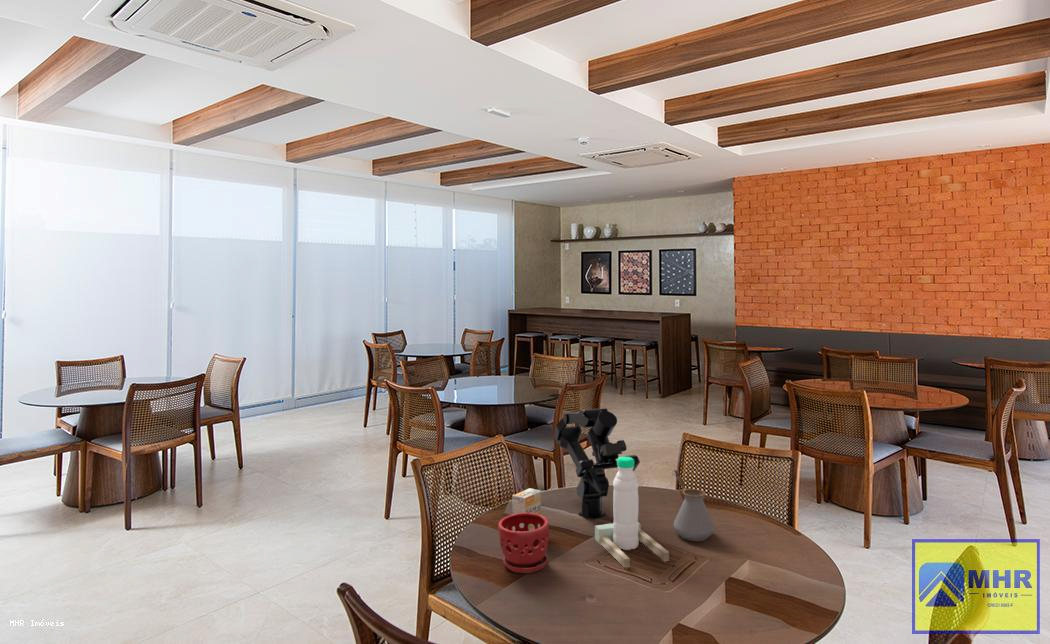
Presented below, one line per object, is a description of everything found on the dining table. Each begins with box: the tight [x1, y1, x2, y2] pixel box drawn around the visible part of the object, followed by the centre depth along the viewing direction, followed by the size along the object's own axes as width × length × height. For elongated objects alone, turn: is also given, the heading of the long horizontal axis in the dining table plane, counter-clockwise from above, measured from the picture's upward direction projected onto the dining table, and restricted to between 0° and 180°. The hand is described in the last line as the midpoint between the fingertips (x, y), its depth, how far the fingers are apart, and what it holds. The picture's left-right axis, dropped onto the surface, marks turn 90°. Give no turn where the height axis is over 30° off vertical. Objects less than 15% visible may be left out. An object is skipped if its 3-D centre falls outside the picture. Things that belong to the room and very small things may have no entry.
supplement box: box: [511, 487, 542, 531], centre depth 175 cm, size 8×5×13 cm, turn 143°
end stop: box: [594, 521, 642, 544], centre depth 173 cm, size 3×13×4 cm, turn 107°
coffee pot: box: [671, 469, 715, 542], centre depth 179 cm, size 21×12×15 cm, turn 6°
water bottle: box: [612, 456, 640, 551], centre depth 167 cm, size 7×7×25 cm
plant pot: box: [498, 513, 550, 574], centre depth 156 cm, size 13×13×12 cm
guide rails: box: [598, 529, 670, 568], centre depth 164 cm, size 16×13×2 cm
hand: (616, 492), depth 173 cm, fingers open, 9 cm apart
